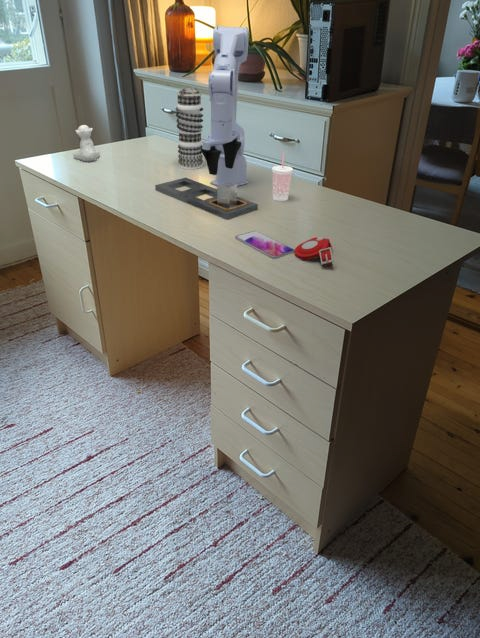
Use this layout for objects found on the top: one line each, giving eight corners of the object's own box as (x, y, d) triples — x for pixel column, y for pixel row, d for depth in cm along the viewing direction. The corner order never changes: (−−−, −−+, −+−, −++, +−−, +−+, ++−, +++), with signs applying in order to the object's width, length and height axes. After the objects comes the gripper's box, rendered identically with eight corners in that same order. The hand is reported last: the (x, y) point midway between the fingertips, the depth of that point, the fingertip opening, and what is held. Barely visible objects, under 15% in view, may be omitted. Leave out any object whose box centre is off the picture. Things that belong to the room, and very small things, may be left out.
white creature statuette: (99, 155, 190) (95, 121, 184) (104, 161, 183) (100, 126, 177) (73, 157, 187) (68, 122, 180) (77, 163, 180) (72, 128, 174)
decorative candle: (189, 160, 187) (187, 85, 174) (209, 165, 183) (208, 88, 169) (172, 166, 181) (168, 88, 167) (192, 171, 176) (190, 92, 163)
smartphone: (255, 230, 134) (296, 250, 124) (255, 233, 134) (295, 253, 124) (233, 236, 130) (274, 257, 120) (233, 239, 130) (273, 260, 120)
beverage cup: (294, 198, 156) (298, 151, 148) (282, 203, 152) (285, 155, 145) (278, 193, 159) (281, 147, 152) (266, 198, 156) (268, 150, 148)
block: (224, 205, 150) (224, 181, 146) (236, 207, 148) (237, 183, 144) (217, 209, 147) (217, 184, 143) (229, 211, 145) (230, 187, 141)
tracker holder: (285, 251, 122) (309, 230, 127) (289, 267, 124) (313, 246, 129) (327, 256, 114) (351, 233, 119) (331, 273, 116) (355, 250, 121)
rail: (185, 182, 166) (185, 176, 165) (257, 209, 147) (257, 203, 146) (155, 190, 159) (155, 184, 158) (227, 219, 140) (227, 213, 139)
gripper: (225, 113, 144) (224, 162, 151) (192, 122, 134) (193, 174, 141) (246, 117, 141) (244, 167, 148) (214, 126, 131) (214, 179, 138)
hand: (221, 171), depth 144 cm, fingers open, 7 cm apart
